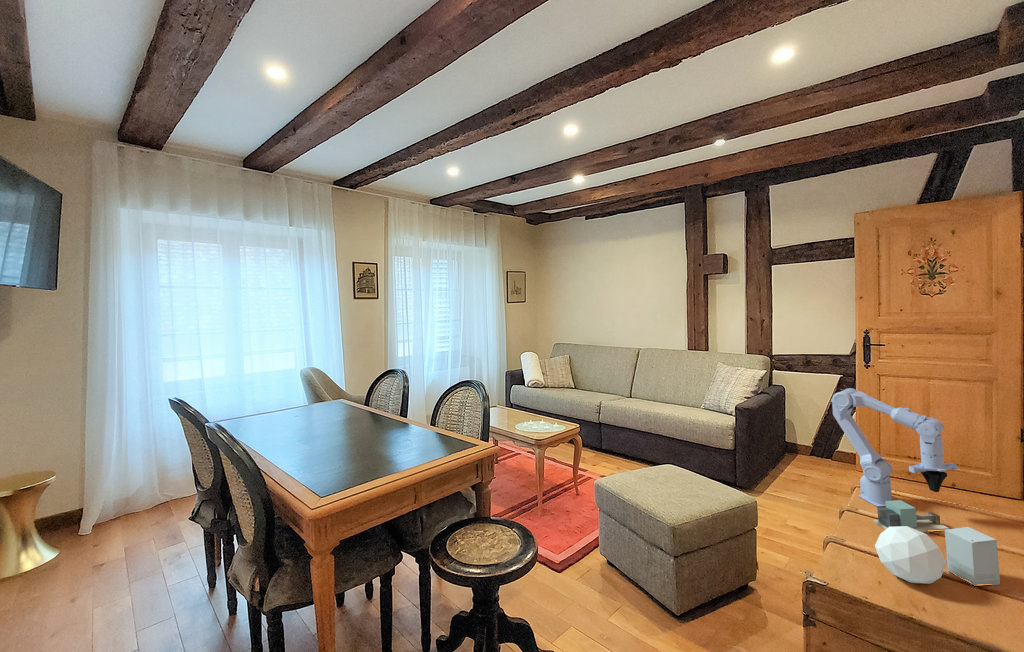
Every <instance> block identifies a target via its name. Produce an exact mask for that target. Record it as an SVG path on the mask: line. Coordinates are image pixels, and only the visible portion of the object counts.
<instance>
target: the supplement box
mask: <svg viewBox="0 0 1024 652" xmlns="http://www.w3.org/2000/svg"><path fill="white" fill-rule="evenodd" d="M944 538H945V548H946V562H947V564H946V565H947V572H948V571H950V572H952V573H954V574H956V575H957V576H959V577H961V578H963V579H966V580H968V581H970V582H971V583H972V584H973V585H974V586H977V584H992V586H998V585H1001V578H1000V577H1001V576H1000V575H1001V574H1000V566H999V565H1000V562H999V551H998V540H997V539H996V538H994V537H991V536H989V535H987V534H985V533H983V532H980V531H978V530H976V529H974V528H972V527H970V526H966V527H965V526H964V527H963V526H962V527H956V528H949V529H946V530H945V531H944ZM950 572H949V573H950ZM957 576H956V577H957ZM974 586H973V587H974Z"/></svg>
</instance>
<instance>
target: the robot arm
mask: <svg viewBox="0 0 1024 652" xmlns="http://www.w3.org/2000/svg"><path fill="white" fill-rule="evenodd" d="M830 402H831V405H832V415H833V417H834V418H835V420H836V422H837V424H838V425H839V427H840V429H841V430H842V431H843V432H844V434H845V436H846V437H847V439H848V440H849V443H850V444H851V445H852V447H853V448H854V450H855V452H856V453H857V454H858V456H859V464H860V466H861V468H862V474H863V475H862V476H861V477H860V479H859V484H860V486H859V487H860V494H858V497H860V498H862V499H863V500H865V501H866V502H868V503H869V504H872V505H873V506H875V507H877V508H885V507H886V502H885V501H893V495H892V483H891V481H892V480H891V477H890V475H891V474H892V472H893V467H892V465H891V464H890V463H889V462H888V461H887V460H886V459H884V458H883V456H882V454H879V453H877V452H876V451H875V449H874V448H873V446H872V445H871V443H870V442H869V440H868V439H867V437H866V436H865V434H864V433H863V432H862V429H861V428H860V427H859V425H858V424H857V422H856V421H855V419H854V417H853V416H852V415H851V413H852V412H853V410H854V408H855V407H857V408H858V407H867V408H869V409H871V410H875V411H877V412H879V413H881V414H885V415H887V416H889V417H891V419H892V421H893V422H895V423H898V424H900V425H903V426H905V427H907V428H909V429H911V430H913V431H916V433H917V434H918V435H919V448H920V450H919V451H920V461H921V462H920V463H917V464H914V465H909V466H908V472H910V473H912V474H917V473H920V474H921V475H922V476H923V478H924V479H925V482H926V483H927V486H928V488H929V491H932V492H934V493H939V492H940V490H941V488H942V487H941V486H942V484H943V482H944V480H945V479H946V478H947V477H948V473H947V472H946V471H951V470H953V471H958V465H957V464H956V463H953V462H945V460H944V458H945V457H944V448H943V447H944V446H943V443H944V442H943V437H942V433H943V431H944V424H943V423H942V421H940V420H939V419H937V418H936V417H932V416H931V417H927V415H924V414H923V415H921V414H919V413H917V412H915V411H912V410H911V409H910V408H909V407H893V406H892V405H890V404H887V403H885V402H883V401H881V400H878V399H877V398H874V397H873V396H870V395H869V394H866V393H865V392H864V391H860V390H857V389H855V388H853V387H849V388H845V389H843V390H841V391H838V392H836V393H834V394H833V396H832V398H831V400H830Z"/></svg>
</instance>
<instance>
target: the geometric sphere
mask: <svg viewBox="0 0 1024 652" xmlns="http://www.w3.org/2000/svg"><path fill="white" fill-rule="evenodd" d="M874 548H875V551H876V553H877V555H878V558H879V560H880V562H881V564H882V565H883V566H884V567H885V568H886V569H887V570H888V572H890V573H891V574H892V575H893V576H896V577H898V578H900V579H902V580H905V581H906V582H908V583H910V584H927V585H928V584H929V585H930V584H933V583H935V582H937V580H939V579H941V578H942V576H943V573H944V571H945V568H946V566H947V565H948V564H947V560H946V559H945V557H944V555H943V553H942V551H941V549H940V547H939V545H938V544H937V543H936V542H935V541H934V540H933V539H932V538H931V537H930V536H929V535H928V534H927V533H922V532H920V531H918V530H915V529H913V528H910V527H908V526H896V527H888V528H887V529H886V530H885V529H884V530H883V531H882V532H880V534H879V536H878V538H877V540H876V542H875V544H874Z"/></svg>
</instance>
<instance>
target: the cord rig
mask: <svg viewBox="0 0 1024 652" xmlns="http://www.w3.org/2000/svg"><path fill="white" fill-rule="evenodd" d="M876 510H877V519H873V523H874V524H875V525H876V526H879V528H881V529H883V530H884V531H885V530H886V529H887V528H888V527H896V526H899V514H897V513H895V512H893V511H892V510H890V509H888V508H886V507H877V509H876ZM927 512H928V513H927V514H916V518H917V527H910V528H913V529H915V530H918V531H920V532H922V533H924V532H926V531H928V530H946V529H950V527H948V526H946V525H944V524H942V523H941V517H940V515H939V514H937V513H935V512H934V511H927Z"/></svg>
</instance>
